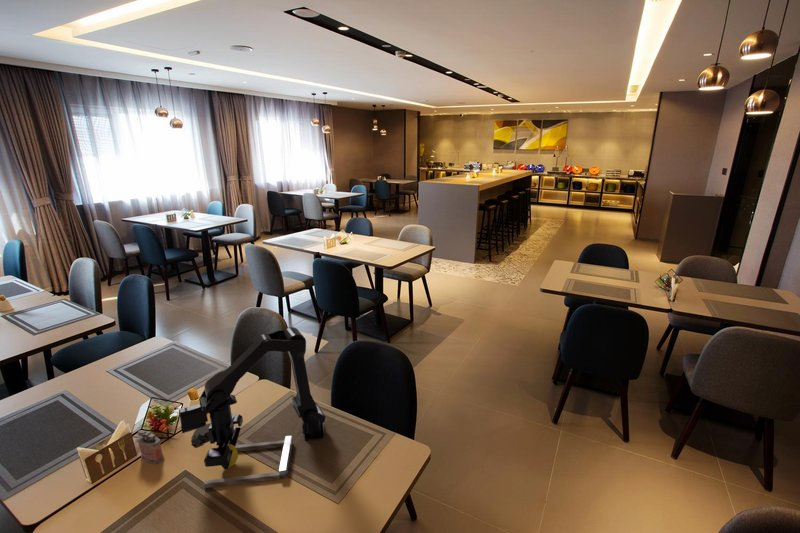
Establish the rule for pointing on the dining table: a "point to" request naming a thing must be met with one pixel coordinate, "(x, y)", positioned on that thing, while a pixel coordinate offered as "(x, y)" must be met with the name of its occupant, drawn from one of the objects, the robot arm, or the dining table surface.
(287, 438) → the channel
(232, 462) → the lemon
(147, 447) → the pink grey container
